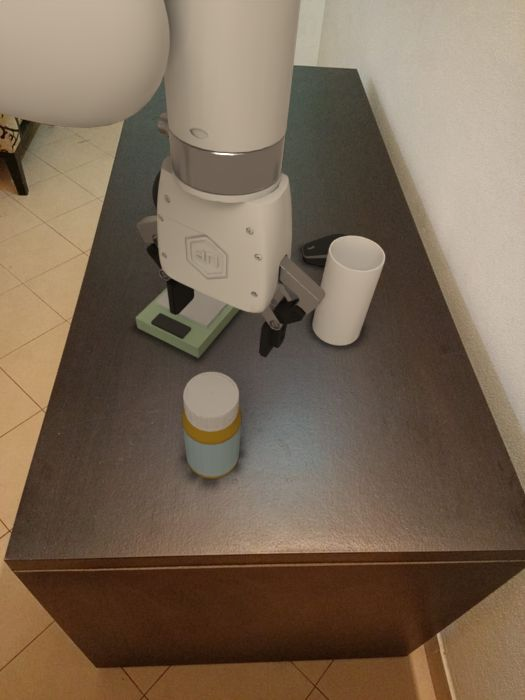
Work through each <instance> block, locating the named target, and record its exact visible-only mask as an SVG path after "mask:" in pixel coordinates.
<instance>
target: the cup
mask: <svg viewBox="0 0 525 700" xmlns="http://www.w3.org/2000/svg"><path fill="white" fill-rule="evenodd" d="M385 260H386V252H385V251H384V249H383V248H382V247H381V246H380V245H379V244H378V243H377V242H375V241H374V240H372V239H369V238H368V237H363V236H359V235H349V236H343V237H340V238H337V239H336V240H334V241H333V242H332V243H331V245H330V247H329V251H328V255H327V260H326V264H325V266H324V269H323V273H322V279H321V281H320V285H319V286H320V287H321V288H322V289H323V290H324V291H325V297H324V298H323V300H322V301H321V302H320V304H319V305H318V307H316V308H315V309H314V314H313V318H312V323H311V325H312V330H313V332H314V334H315V336H316V337H317V338H318V339H319V340H321V341H322V342H324V343H327V344H329V345H333V346H348V345H350V344H353V343H354V342H355V341H357V339H359V337H360V334H361V332H362V329H363V326H364V322H365V319H366V317H367V314H368V311H369V309H370V305H371V302H372V299H373V298H374V297H373V296H374V293H375V291H376V288H377V285H378V282H379V279H380V277H381V274H382V271H383V268H384V266H385V262H386V261H385Z"/></svg>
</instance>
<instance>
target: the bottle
mask: <svg viewBox="0 0 525 700" xmlns="http://www.w3.org/2000/svg"><path fill="white" fill-rule="evenodd" d="M182 394H183V395H182V397H183V398H182V399H183V400H182V401H183V409H182V414H181V425H182V431H183V433H182V434H183V441H184V448H185V455H186V461H187V465H188V467H189V468H190V469H191V471H192V472H193V473H195V474H196V475H197V476H198V477H199V476H200V477H202V478H205V479H211V480H215V479H219V478H223V477H226V476H227V475H228V474H230V473H231V472H232V471H233V470H234V469H235V467H236V466H237V464H238V462H239V457H240V447H241V445H240V444H241V432H242V411H241V408H240V391H239V388H238V385H237V383H236V381H234V380H233V379H232V377H230V376H229V375H227V374H225V373H222V372H220V371H219V372H218V371H206V372H201V373H198V374H197V375H195V376H193V377H192V378H190V380H189V381H188V382H187V383H186V385H185V387H184V390H183V393H182Z"/></svg>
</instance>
